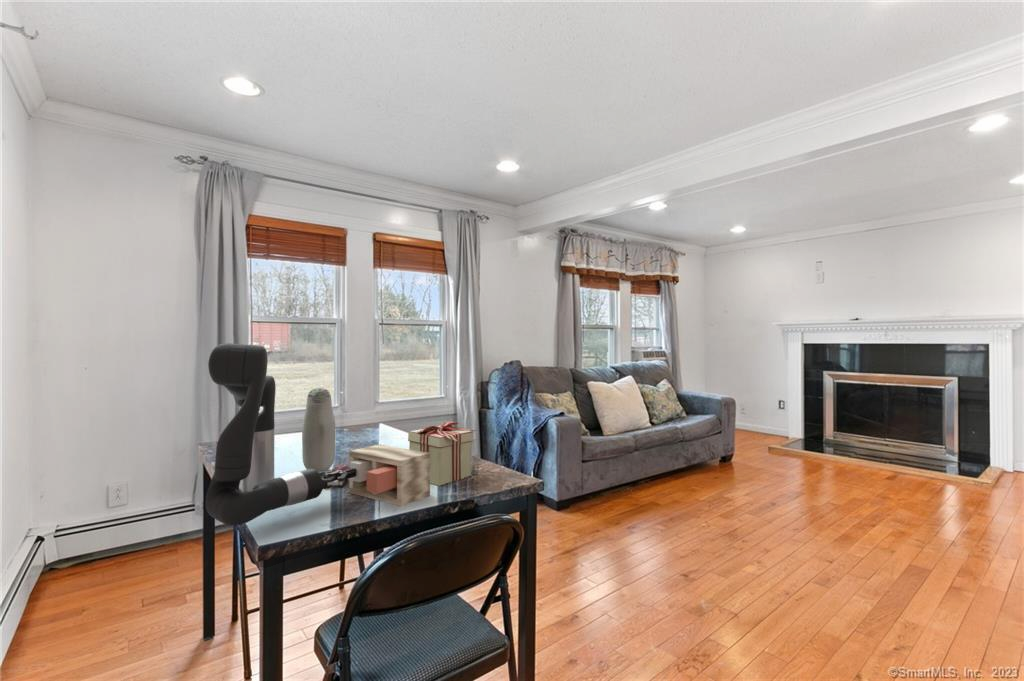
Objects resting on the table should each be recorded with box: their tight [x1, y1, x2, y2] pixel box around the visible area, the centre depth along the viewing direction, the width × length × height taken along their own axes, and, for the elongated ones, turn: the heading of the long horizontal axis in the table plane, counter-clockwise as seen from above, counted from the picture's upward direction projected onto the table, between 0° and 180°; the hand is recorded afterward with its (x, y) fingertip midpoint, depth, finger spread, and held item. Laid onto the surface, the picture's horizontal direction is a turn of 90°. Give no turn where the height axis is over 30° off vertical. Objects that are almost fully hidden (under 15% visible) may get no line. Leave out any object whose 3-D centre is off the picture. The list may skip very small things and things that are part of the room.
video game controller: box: [331, 463, 349, 471], centre depth 149 cm, size 10×5×7 cm, turn 169°
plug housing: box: [348, 443, 431, 507], centre depth 139 cm, size 11×21×12 cm, turn 57°
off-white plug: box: [350, 459, 372, 482], centre depth 140 cm, size 8×4×5 cm, turn 147°
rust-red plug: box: [367, 465, 397, 493], centre depth 130 cm, size 8×4×5 cm, turn 147°
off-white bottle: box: [301, 387, 336, 471], centre depth 163 cm, size 10×10×28 cm
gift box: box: [407, 421, 477, 487], centre depth 157 cm, size 17×18×17 cm
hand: (354, 472), depth 137 cm, fingers closed
